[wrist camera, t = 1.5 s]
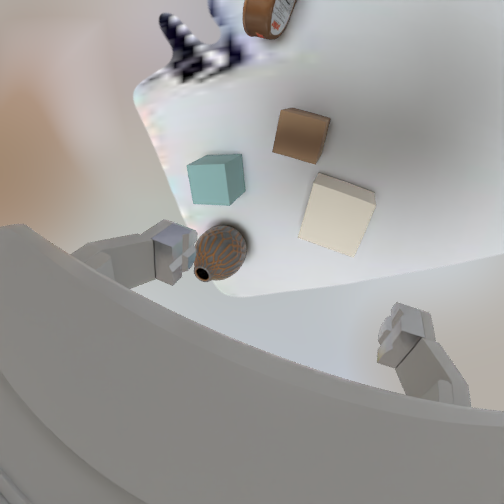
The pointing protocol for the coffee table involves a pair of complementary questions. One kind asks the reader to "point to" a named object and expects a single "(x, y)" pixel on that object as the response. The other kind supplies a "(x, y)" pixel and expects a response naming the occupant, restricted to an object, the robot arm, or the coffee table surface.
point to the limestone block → (337, 214)
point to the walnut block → (301, 134)
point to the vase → (219, 253)
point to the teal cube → (216, 179)
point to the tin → (266, 17)
